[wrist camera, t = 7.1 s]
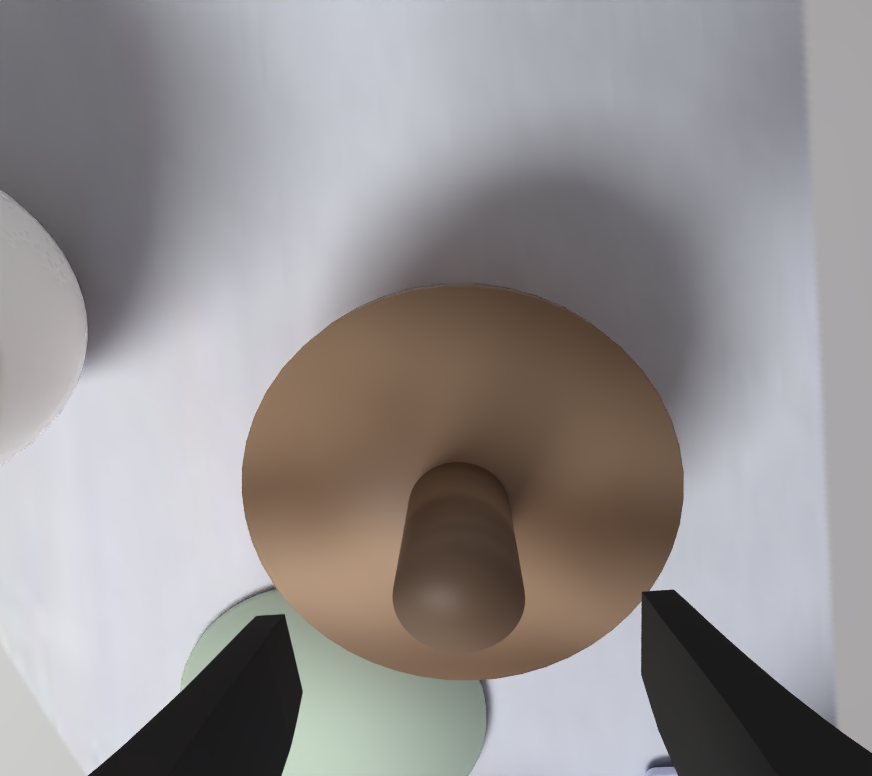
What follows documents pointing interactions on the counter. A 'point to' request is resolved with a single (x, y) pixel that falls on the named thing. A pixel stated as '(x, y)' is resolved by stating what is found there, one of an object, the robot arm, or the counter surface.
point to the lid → (462, 482)
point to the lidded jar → (35, 329)
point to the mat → (360, 705)
